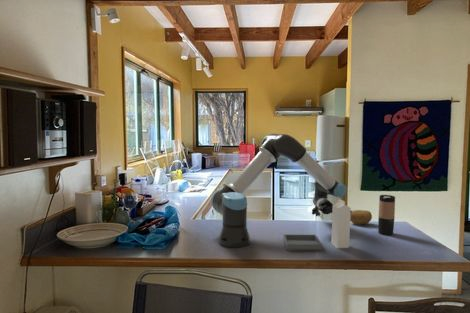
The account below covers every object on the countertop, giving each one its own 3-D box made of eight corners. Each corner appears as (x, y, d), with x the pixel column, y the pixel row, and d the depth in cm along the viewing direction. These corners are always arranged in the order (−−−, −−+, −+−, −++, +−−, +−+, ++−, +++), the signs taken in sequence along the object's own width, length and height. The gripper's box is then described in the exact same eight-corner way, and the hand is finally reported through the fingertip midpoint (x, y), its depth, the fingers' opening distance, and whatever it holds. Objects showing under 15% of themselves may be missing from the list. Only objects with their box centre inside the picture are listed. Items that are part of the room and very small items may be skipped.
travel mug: (390, 231, 174) (392, 195, 173) (396, 235, 167) (397, 197, 165) (375, 230, 175) (377, 194, 173) (380, 235, 167) (382, 197, 166)
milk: (337, 248, 148) (338, 201, 146) (331, 244, 154) (332, 198, 152) (349, 247, 149) (351, 201, 148) (342, 243, 155) (344, 198, 153)
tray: (286, 250, 145) (287, 244, 145) (283, 240, 159) (283, 234, 159) (322, 251, 145) (322, 244, 145) (315, 240, 159) (315, 234, 159)
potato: (344, 221, 193) (344, 208, 193) (368, 221, 193) (368, 208, 192) (349, 226, 183) (349, 212, 183) (374, 226, 183) (375, 212, 182)
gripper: (347, 213, 181) (361, 223, 160) (302, 212, 181) (310, 223, 160) (347, 199, 180) (361, 209, 159) (302, 199, 181) (310, 208, 159)
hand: (336, 216), depth 159 cm, fingers open, 13 cm apart
